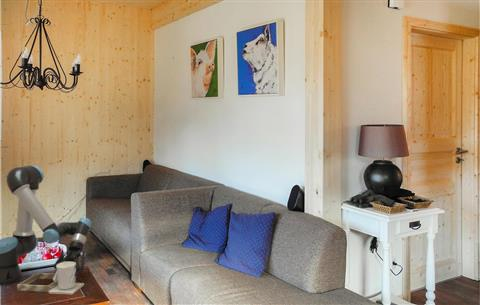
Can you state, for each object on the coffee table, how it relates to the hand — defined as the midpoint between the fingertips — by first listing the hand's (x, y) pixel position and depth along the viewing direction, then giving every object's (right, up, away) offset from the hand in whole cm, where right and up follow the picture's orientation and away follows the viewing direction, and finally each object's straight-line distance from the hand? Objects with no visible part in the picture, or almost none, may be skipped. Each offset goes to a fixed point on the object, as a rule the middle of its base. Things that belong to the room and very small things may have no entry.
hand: (63, 281), depth 220 cm
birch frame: (-16, -5, +10) cm, 19 cm away
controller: (-9, -4, +28) cm, 30 cm away
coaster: (0, -5, +4) cm, 6 cm away
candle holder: (0, -4, +4) cm, 5 cm away
